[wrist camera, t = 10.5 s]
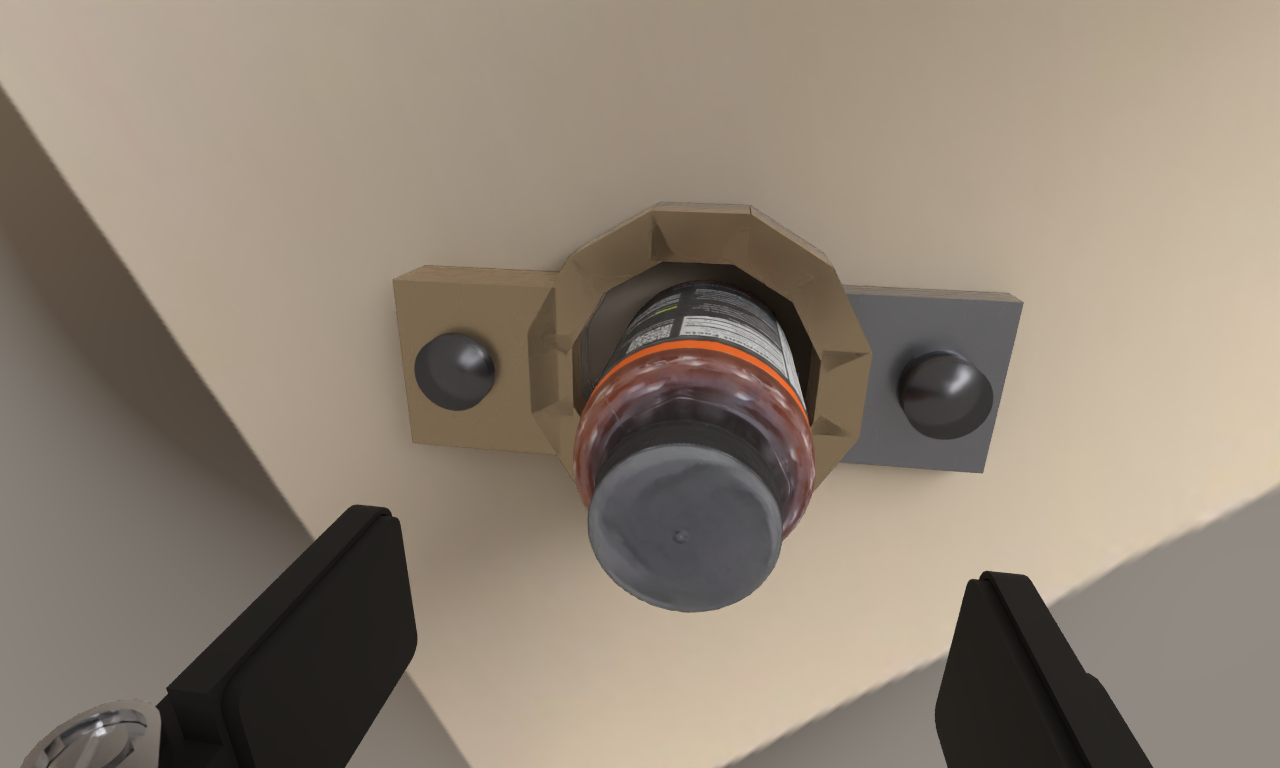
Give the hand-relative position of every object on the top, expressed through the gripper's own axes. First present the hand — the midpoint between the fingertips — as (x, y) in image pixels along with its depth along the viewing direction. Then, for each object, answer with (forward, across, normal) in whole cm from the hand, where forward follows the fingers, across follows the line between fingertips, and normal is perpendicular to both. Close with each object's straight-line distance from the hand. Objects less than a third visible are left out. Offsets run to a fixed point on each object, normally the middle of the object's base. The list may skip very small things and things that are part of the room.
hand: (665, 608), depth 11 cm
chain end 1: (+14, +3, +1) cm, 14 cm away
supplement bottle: (+14, 0, +1) cm, 14 cm away
